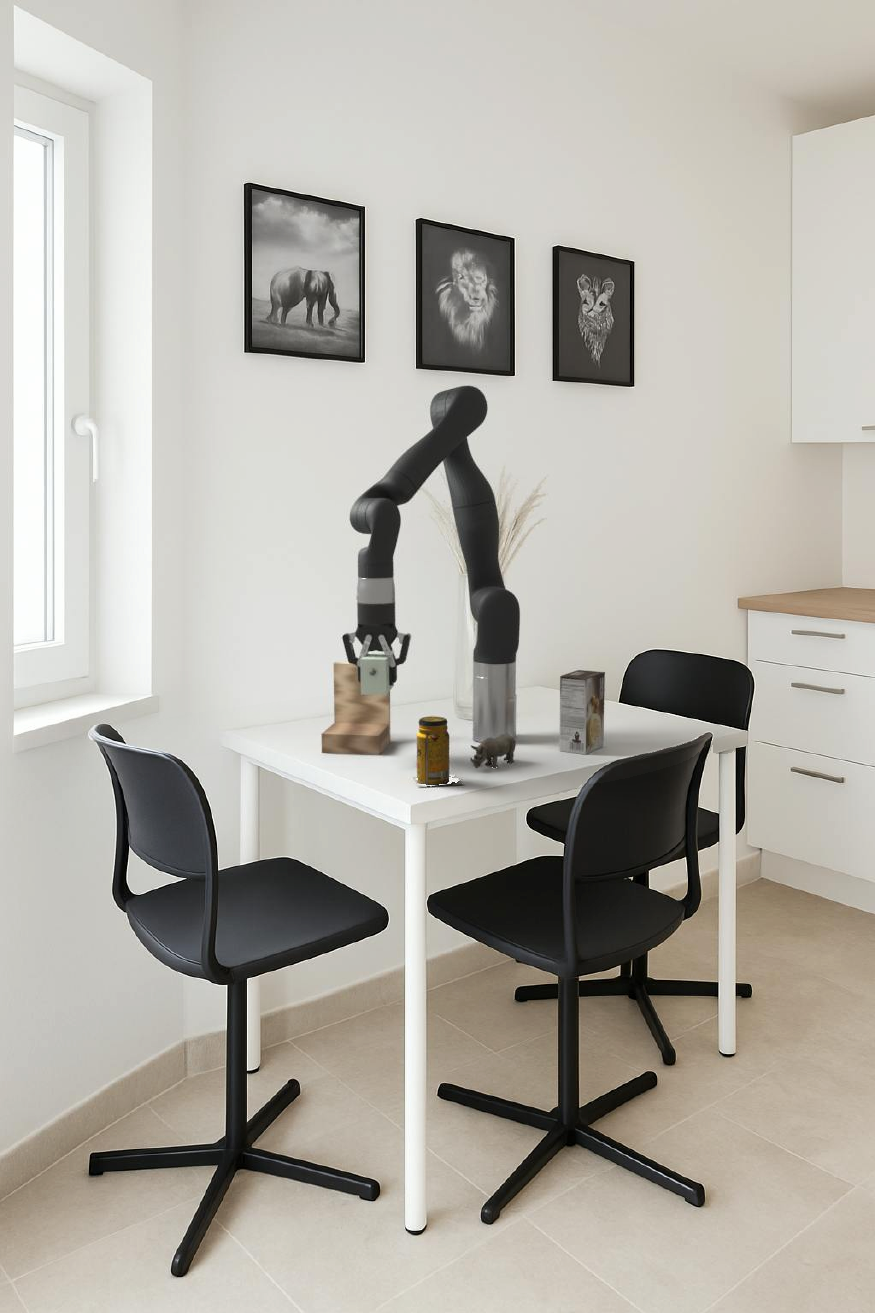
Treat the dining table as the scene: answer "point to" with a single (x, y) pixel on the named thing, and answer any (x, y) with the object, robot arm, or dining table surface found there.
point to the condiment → (433, 752)
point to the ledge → (355, 738)
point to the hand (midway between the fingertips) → (377, 684)
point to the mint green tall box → (375, 674)
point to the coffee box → (581, 711)
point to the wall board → (357, 699)
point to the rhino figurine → (494, 750)
